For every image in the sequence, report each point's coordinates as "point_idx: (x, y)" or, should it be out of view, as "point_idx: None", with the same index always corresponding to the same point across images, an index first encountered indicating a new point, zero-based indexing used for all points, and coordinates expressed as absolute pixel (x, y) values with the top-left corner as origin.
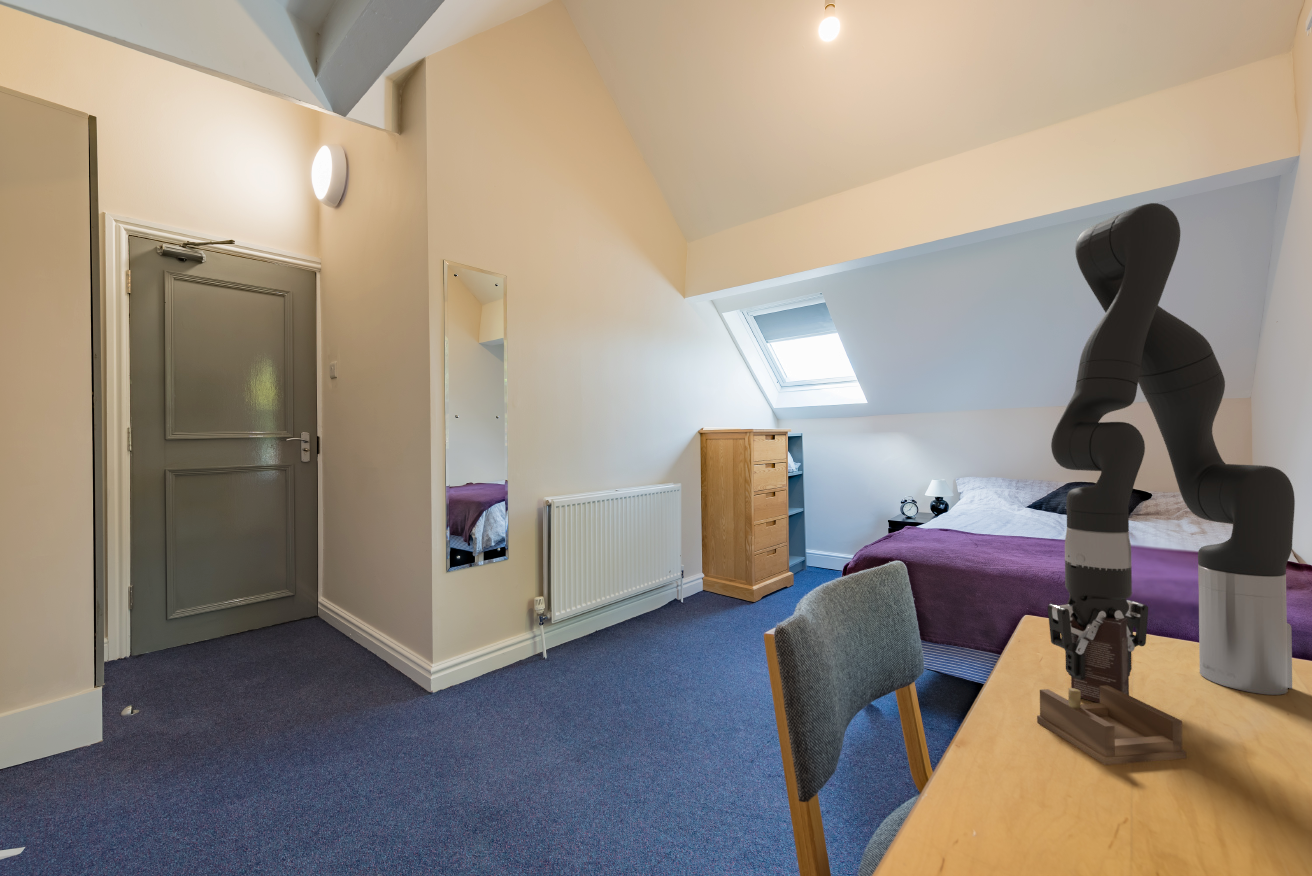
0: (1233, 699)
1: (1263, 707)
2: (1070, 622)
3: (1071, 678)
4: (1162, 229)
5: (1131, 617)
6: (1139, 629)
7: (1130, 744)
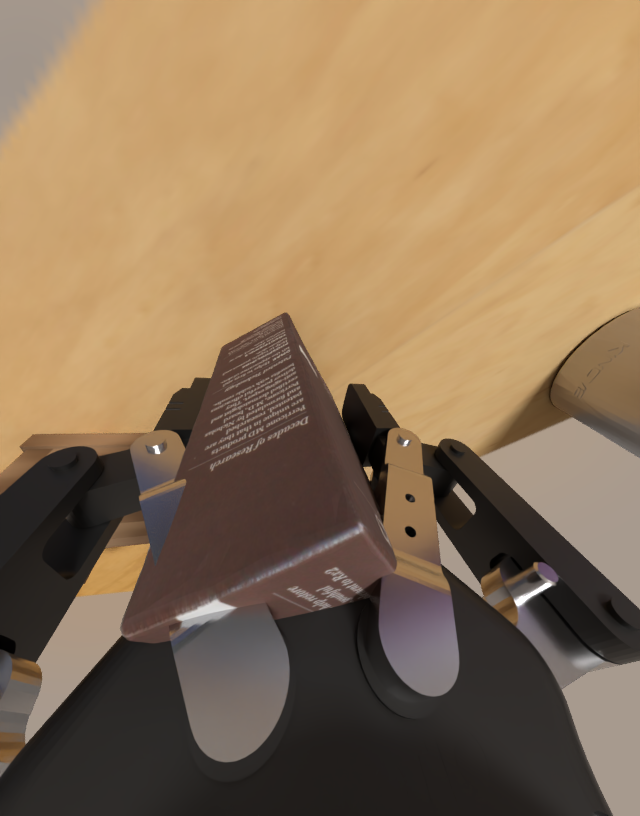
0: (499, 407)
1: (495, 429)
2: (150, 551)
3: (215, 366)
4: None
5: (483, 576)
6: (448, 537)
7: (134, 544)
